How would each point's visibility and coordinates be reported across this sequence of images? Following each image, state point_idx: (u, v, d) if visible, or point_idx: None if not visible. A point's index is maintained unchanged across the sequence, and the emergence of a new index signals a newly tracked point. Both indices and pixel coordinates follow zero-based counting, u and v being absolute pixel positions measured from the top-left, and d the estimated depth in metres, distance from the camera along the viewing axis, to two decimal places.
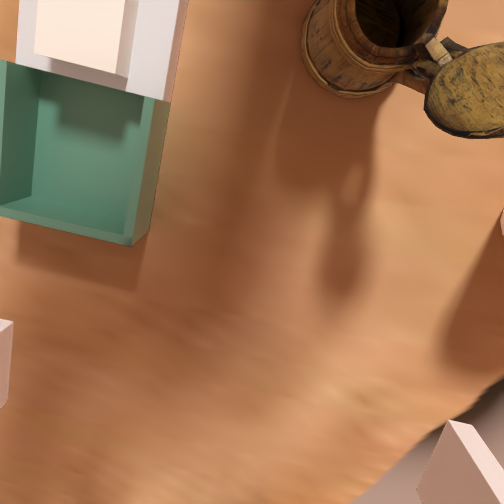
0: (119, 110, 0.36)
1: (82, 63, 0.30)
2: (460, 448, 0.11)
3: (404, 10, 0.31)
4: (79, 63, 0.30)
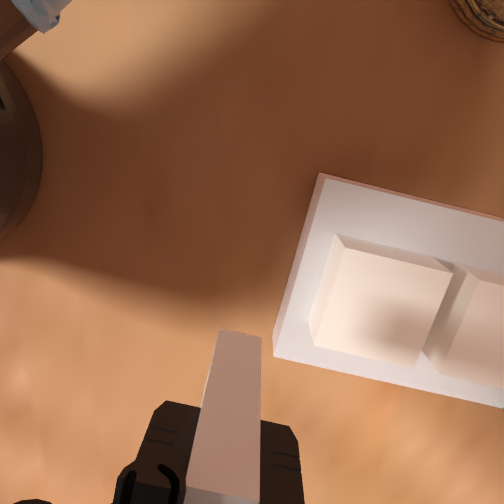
0: None
1: None
2: (237, 351, 0.13)
3: None
4: None
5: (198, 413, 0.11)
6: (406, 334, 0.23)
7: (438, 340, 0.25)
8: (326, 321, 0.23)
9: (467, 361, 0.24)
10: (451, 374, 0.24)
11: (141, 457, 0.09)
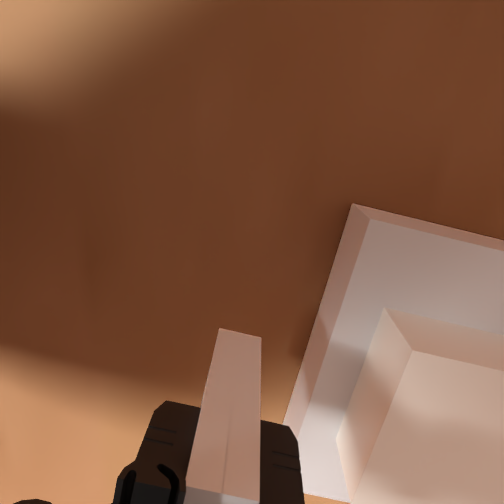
0: None
1: None
2: (237, 351, 0.13)
3: None
4: None
5: (198, 413, 0.11)
6: None
7: None
8: (373, 468, 0.13)
9: None
10: None
11: (141, 457, 0.09)
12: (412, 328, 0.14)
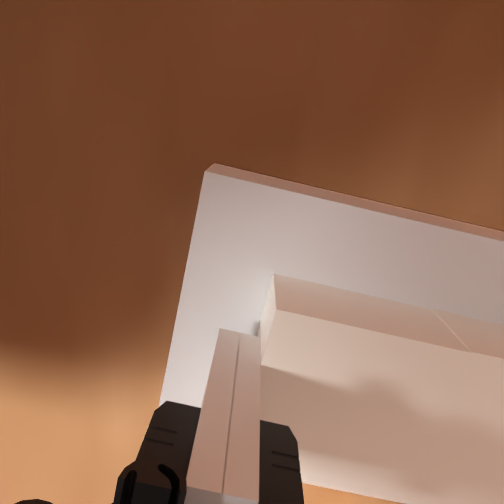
0: None
1: None
2: (236, 351, 0.13)
3: None
4: None
5: (198, 413, 0.11)
6: (388, 451, 0.13)
7: None
8: None
9: (451, 483, 0.14)
10: (425, 502, 0.14)
11: (141, 457, 0.09)
12: (292, 291, 0.14)
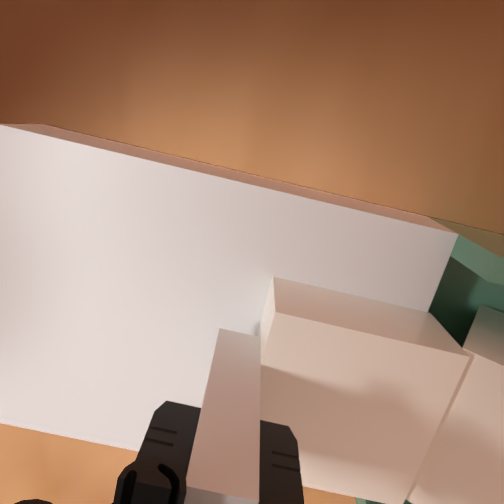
0: None
1: None
2: (236, 351, 0.13)
3: None
4: None
5: (198, 413, 0.11)
6: (387, 454, 0.13)
7: (462, 491, 0.13)
8: None
9: None
10: None
11: (141, 457, 0.09)
12: (291, 294, 0.14)
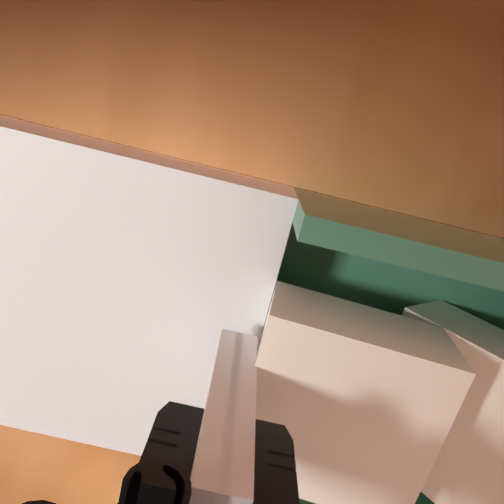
0: None
1: None
2: (233, 350, 0.13)
3: None
4: None
5: (202, 414, 0.11)
6: (385, 473, 0.13)
7: None
8: None
9: None
10: None
11: (145, 458, 0.09)
12: (291, 299, 0.13)
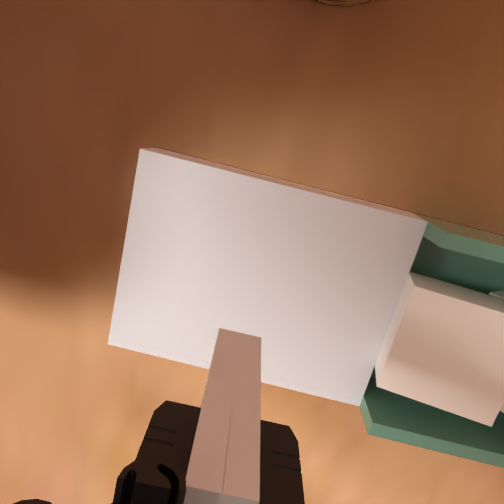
0: None
1: None
2: (237, 351, 0.13)
3: None
4: None
5: (198, 413, 0.11)
6: (482, 387, 0.21)
7: None
8: (391, 362, 0.22)
9: None
10: None
11: (141, 457, 0.09)
12: (422, 280, 0.22)
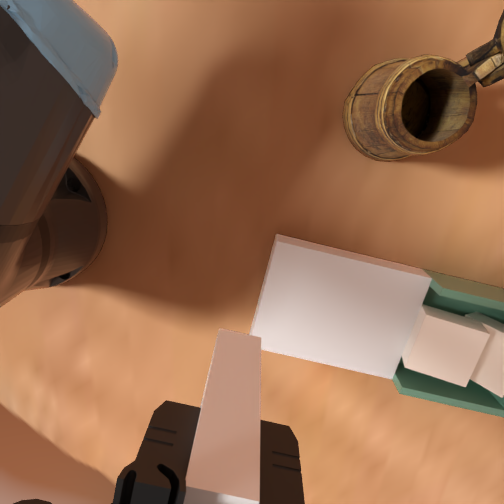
0: None
1: None
2: (237, 351, 0.13)
3: None
4: None
5: (198, 413, 0.11)
6: (460, 366, 0.40)
7: None
8: (413, 354, 0.41)
9: None
10: None
11: (141, 457, 0.09)
12: (429, 310, 0.41)
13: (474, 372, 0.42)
